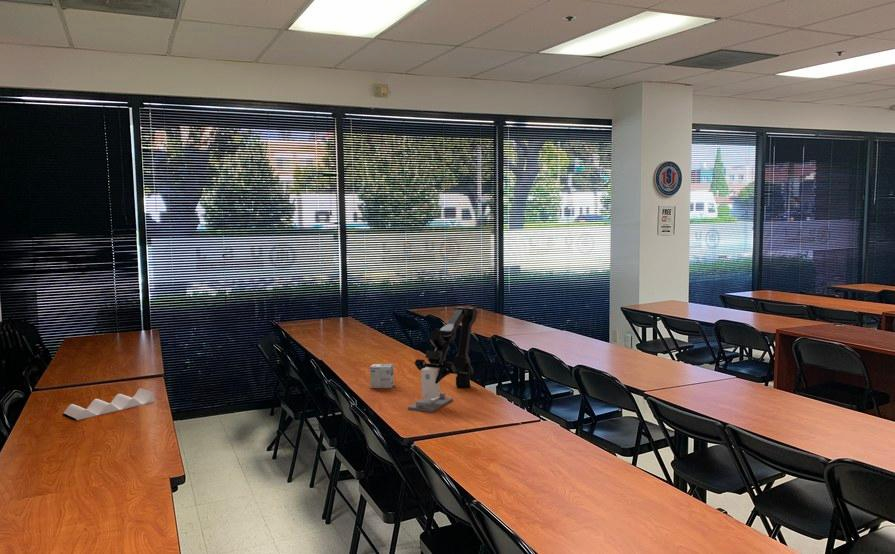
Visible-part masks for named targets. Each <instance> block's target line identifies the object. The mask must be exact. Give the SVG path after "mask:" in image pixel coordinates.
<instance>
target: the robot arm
mask: <svg viewBox="0 0 895 554" xmlns="http://www.w3.org/2000/svg"><path fill="white" fill-rule="evenodd" d="M478 314H479V313H478V310H477V309H476V307H469V306H467V307H466V306H456V307H455V309H454V312H453V314H452V316H451V318H450V319H449V320H448V322H447V324H445V325H443V326H441V328H435V329H434V330H433V331H431V332H430V333H429V334H428V339H429V341H430V342H431V345H433V347H435V348H434V350H426V353H425V357H424V358H426V359H427V361H428V362H426V360H425V359H421V358H417V359H415V361H414V365H415V366H416V368H417V370H418V371H421V369H423V368H425V367H432V368H439V373H438V376H437V378H436V382H435V383H436V384H437V383H438V382H439V381H442V379H444V378H445V377H447V376H449V375H450V374H452V375H456V376H455V386H456V387H457V388H459V389H462V388H463V389H464V388H471V376H472V375H474V368H473V366H472V365H471V358H470V356H469V350H470V341H471V333H472V328H473V327H472V326H473V325H474V323H475V322H476V320H477V317H478ZM460 324H461V329H460V338H459V345H458V353H457V354H456V355H455V356H453V360H452V361H451V362H450V361H446V360H447V358H446V356H447V353H448V351H451V347H450V345H449V343H454V341H455V339H456V337H457V329H458V327H459V326H460Z"/></svg>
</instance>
